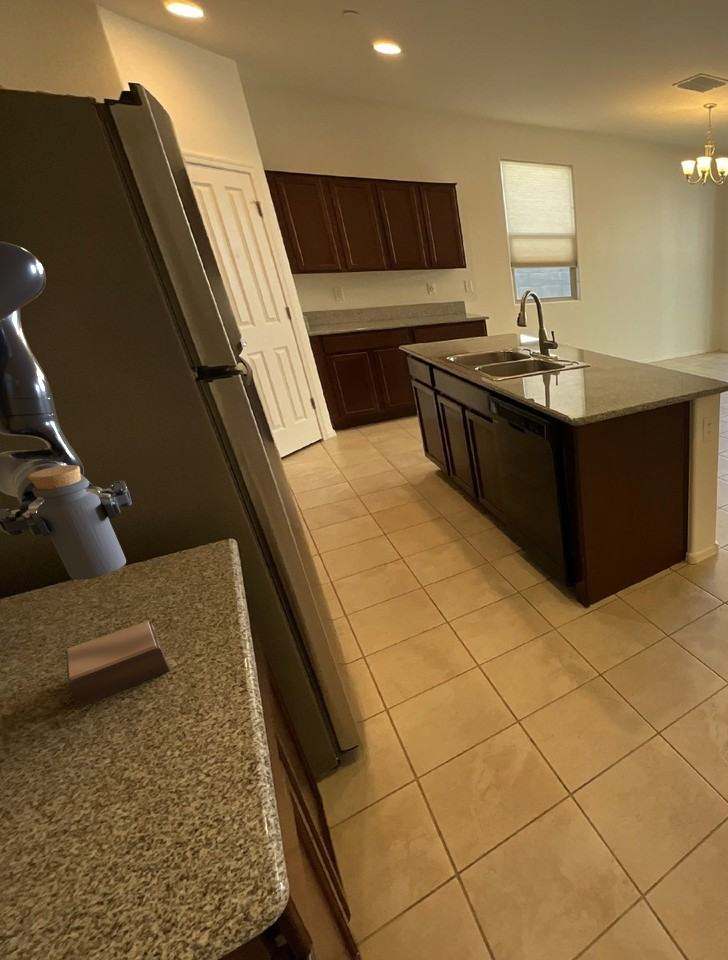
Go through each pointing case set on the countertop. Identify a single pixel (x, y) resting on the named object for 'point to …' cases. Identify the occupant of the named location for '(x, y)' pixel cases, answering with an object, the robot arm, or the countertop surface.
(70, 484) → the bottle
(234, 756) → the countertop surface
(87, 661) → the stand
